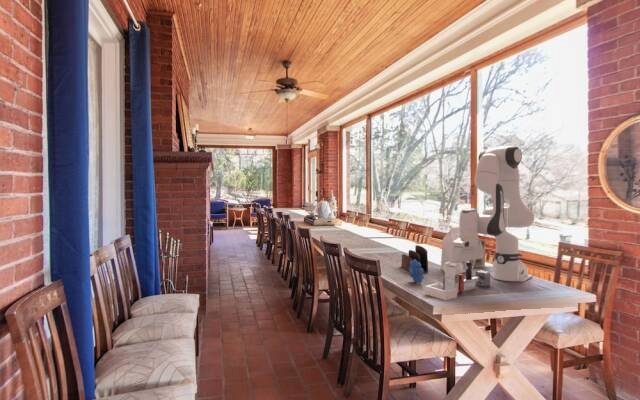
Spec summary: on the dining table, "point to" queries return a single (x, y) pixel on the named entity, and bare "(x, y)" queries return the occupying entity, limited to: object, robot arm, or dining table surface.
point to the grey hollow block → (485, 280)
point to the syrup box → (451, 276)
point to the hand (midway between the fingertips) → (468, 269)
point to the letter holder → (416, 258)
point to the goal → (440, 292)
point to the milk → (450, 247)
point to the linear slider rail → (468, 277)
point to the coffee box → (481, 261)
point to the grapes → (416, 271)
